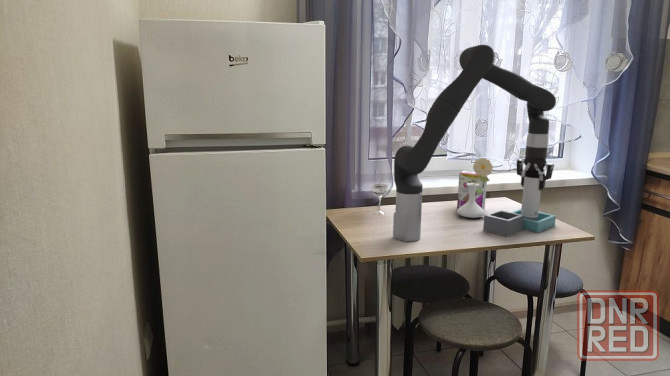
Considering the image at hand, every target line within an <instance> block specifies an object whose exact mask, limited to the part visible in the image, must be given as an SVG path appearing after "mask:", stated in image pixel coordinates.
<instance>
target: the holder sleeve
mask: <svg viewBox="0 0 670 376" xmlns="http://www.w3.org/2000/svg"><path fill="white" fill-rule="evenodd" d="M512 212H513V211H507V210H503V209H498V210H495V211H492V212H489V213H485V215H484V216H483V229H482V230H483V231H484V232H489V233H492V234H495V235H496V234H497V235H498V236H499V235H500V236H504V237H510V236H513V235H515V234H517V233H520V232H522V231H523V230H524V229H523V222H524V215H520V214H516V213H512Z"/></svg>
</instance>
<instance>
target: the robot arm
mask: <svg viewBox="0 0 670 376" xmlns="http://www.w3.org/2000/svg"><path fill="white" fill-rule="evenodd" d="M458 60H459V61H458V62H459V66H460V68H461V69H462V70H461V72H460V73H459V75H458V76H457V77H456V78H455V79H453V81H452V82H451V83H449V84H448V85H447V86H446V87H445V88H444V89H443V90H442V92H441V91H440V94H438V96H437V97H436V99H435V101H433V103H432V105H431V107H429V109H428V112H427V115H426V119H425V125H424V129H423V132H422V134H421V135H420V137H419V138H418V140H417V141H416V143H415V144H414V145H412V146H411V145H402V146H401V147H399V148H398V149H397V151H396V152H395V154H394V161H393V173H394V174H393V176H394V179H393V180H394V181H393V182H394V184H395V187H396V188H395V192H396V194H395V211H394V212H393V220H392V221H393V222H392V223H393V225H392V226H393V227H392V238H393V239H396V240H397V241H398V240H399V241H402V242H404V243H407V242H416V241H418V240H421V233H422V232H421V231H422V230H421V228H422V209H423V207H422V206H423V184H422V182H421V181H420V178H419V174H421V173H423V172H424V171H425V169H426V168H427V167H428V165H429V163H430V162H431V159H432V157H433V155H434V153H435V152H436V150H437V147H438V146H439V144H440V143H441V141H442V139H443V138H444V137H445V135H446V133H447V132H448V130H449V129H450V127H451V125H452V124H453V123H454V121H455V120H456V118H457V117H458V115H459V113H461V110H462V109H463V107H464V105H465V104H466V102H467V101H468V100H469V97H470V96H471V95H472V92H474V90H475V88H476V87H477V85H478V84H479V83H480V82H481V80H486V81H487V82H489V83H491V84H493V85H495V86H497V87H499V88H500V89H502V90H504V91H505V92H507V93H509V94H510V95H511V96H513V97H514V98H517V99H518V100H520V101H524V102H526V110H527V118H528V129H527V136H526V143H525V151H524V152H525V153H524V156H525V157H524V159H517V160H516V175H518V176H520V177H521V179H520V185H521V187H522V188H523V187H524V178H525V171H528V170H529V171H539V172H538V175H539V177H540V181H539V190H541V191H543V190H544V189H545V188H546V181H547V180H550V179H552V175H553V172H554V167H555V164H554V163H548V162H547V161H546V160H547V154H548V146H549V129H550V128H549V127H550V120H549V119H548V118H547V117H545V113H544V112H548V111H552V109H554V108H555V107H556V104H557V98H556V96H555V94H553V92H551V91H549V90H548V89H546V88H544V87H541V86H538V85H536V84H534V83H533V82H531V81H530V80H528V79H527V78H524V76H522V75H520V74H518V73H517V72H513V71H511V70H508V69H506V68H503V67H500V66H498V65H496V64H494V62H495V51H494V49H493V48H492V47H491V46H490V45H488V44H477V45H475V46H470V47H468V48H466V49H463V50H462V52H461V53H460V55H459V59H458ZM524 165H525V167H524ZM544 168H546V171H545V169H544ZM542 169H544V170H543V172H541V171H540V170H542Z"/></svg>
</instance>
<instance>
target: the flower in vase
mask: <svg viewBox="0 0 670 376" xmlns="http://www.w3.org/2000/svg"><path fill="white" fill-rule="evenodd" d="M472 169H473V172H475V173H476V174H478V175H479V177H480V175H481V177H480V178H479V177H478V179H480V180H481V181H482V182H487V183H488V182H490V181H491V180H490V179H489V177H488V176H490V175H491V174H492V172H493V169H494V166H493V165H492V162H491V160H490V159H487V158H484V157H481V158H478V159H476V160H474V164H473V166H472ZM486 175H487V177H486ZM468 178H469V179H471V180H474V181H475V179H473V178H470V177H469V176H468ZM478 179H477V180H478ZM477 180H476V181H477ZM476 181H475V183H467V186H468V188H469V200H468V202H467V203H466V204H464V205H462V206H461V207H460V208H457V210H456V213H457V214H458V215H460V216H461V217H464V218H470V219H476V218H477V219H479V218H482V217H484V215H486V212H485V209H484V210H483V209H482V208H481V207H480V206H479V205H478V204H477V203H476V202H475V192H476V189H477V187H478V186H479V184H477V183H476Z"/></svg>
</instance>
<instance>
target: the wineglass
mask: <svg viewBox="0 0 670 376" xmlns="http://www.w3.org/2000/svg"><path fill="white" fill-rule="evenodd" d="M371 186H372V189H371V192H372V194H373V196H375V197H376V198H378V210H376V211H374V212H373V214H375V215H384V213H385V214H386V212H385V211H382V210H381V200H382V198H384V197H385V196H386V195H388V193H389V188H388V187H389V186H388V184H385V183H374V184H372V185H371Z"/></svg>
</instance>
